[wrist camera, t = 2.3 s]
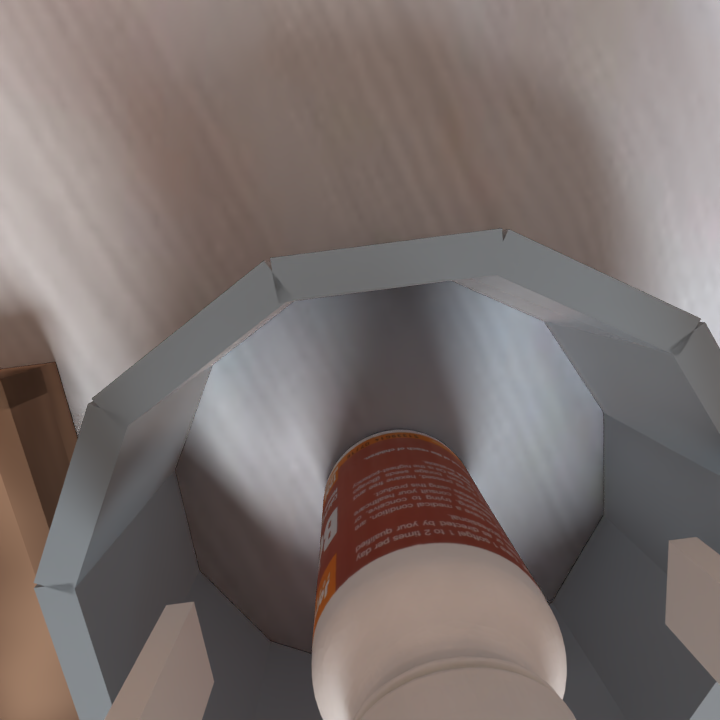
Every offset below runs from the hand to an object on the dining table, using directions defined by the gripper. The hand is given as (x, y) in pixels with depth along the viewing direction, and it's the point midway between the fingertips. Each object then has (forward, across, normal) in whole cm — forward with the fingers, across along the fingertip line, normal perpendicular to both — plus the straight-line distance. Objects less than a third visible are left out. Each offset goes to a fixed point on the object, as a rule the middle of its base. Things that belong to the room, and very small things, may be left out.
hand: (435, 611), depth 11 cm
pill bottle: (+7, 0, 0) cm, 7 cm away
